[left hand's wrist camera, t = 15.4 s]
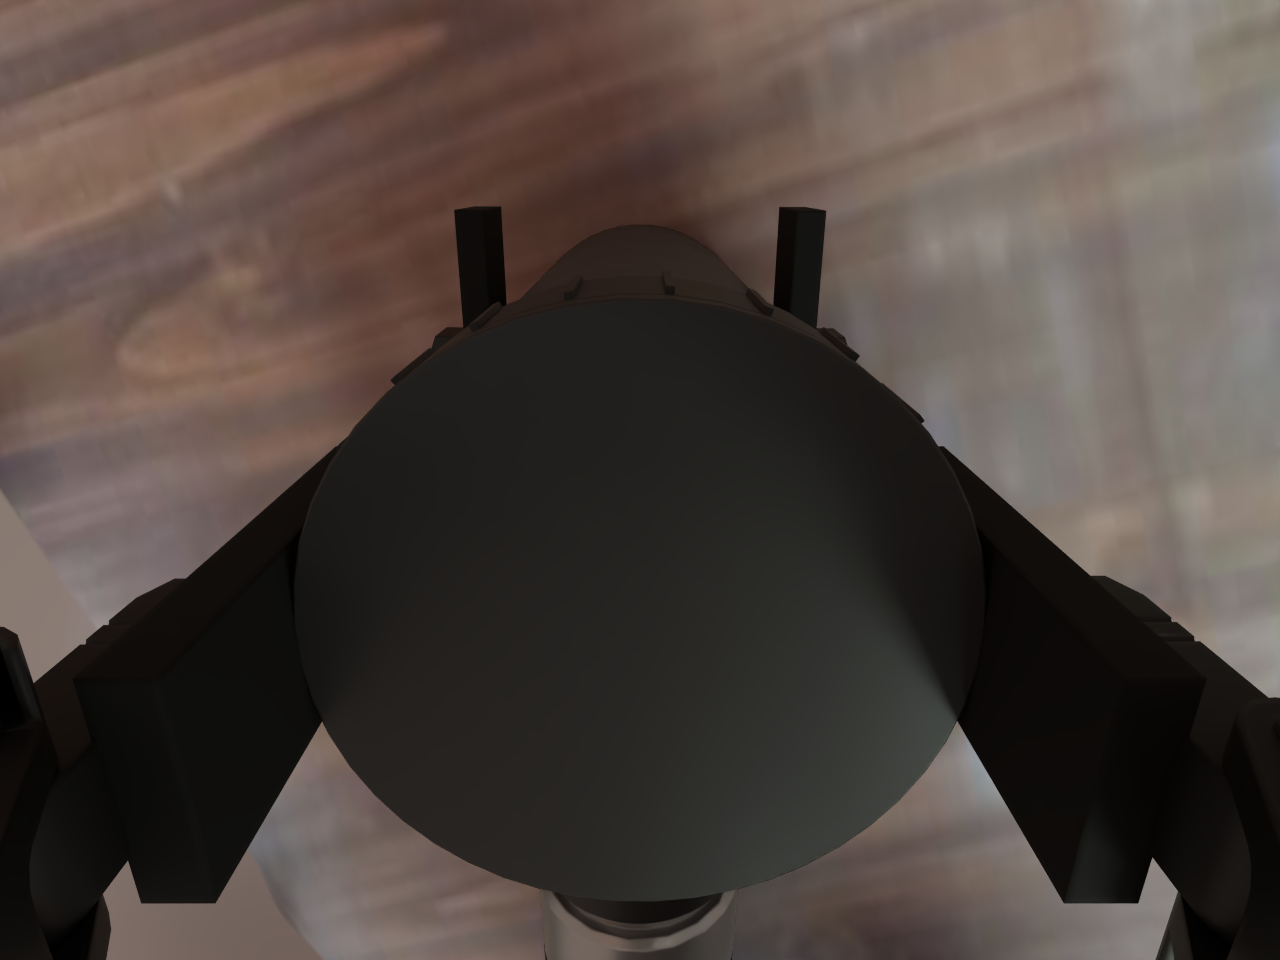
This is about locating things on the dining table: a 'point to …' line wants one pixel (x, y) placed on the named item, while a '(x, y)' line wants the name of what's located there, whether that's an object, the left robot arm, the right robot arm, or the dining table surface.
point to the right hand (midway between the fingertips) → (640, 209)
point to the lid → (639, 592)
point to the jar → (639, 258)
